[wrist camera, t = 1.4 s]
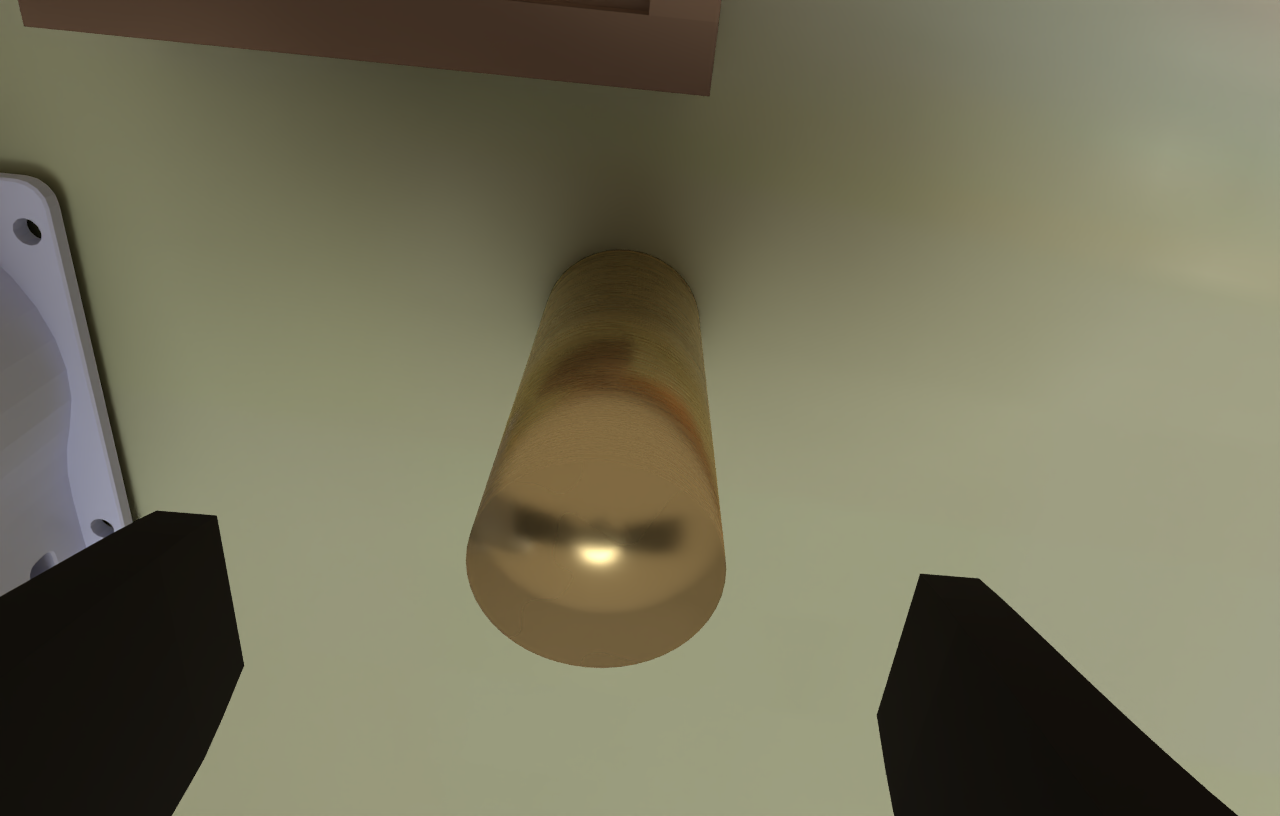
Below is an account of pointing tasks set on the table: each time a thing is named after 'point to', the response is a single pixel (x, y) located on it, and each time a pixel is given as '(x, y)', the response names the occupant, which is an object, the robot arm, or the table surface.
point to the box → (435, 33)
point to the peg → (605, 475)
